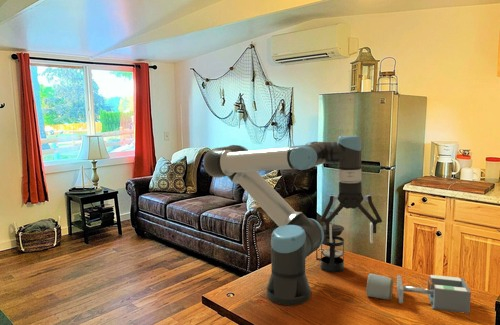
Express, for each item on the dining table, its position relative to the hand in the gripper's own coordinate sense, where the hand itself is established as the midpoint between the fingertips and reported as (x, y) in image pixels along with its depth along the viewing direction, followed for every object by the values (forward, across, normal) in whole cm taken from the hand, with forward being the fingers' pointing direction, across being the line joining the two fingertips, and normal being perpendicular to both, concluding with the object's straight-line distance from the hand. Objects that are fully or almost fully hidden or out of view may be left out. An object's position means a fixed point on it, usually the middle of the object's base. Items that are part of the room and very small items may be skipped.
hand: (350, 241), depth 130 cm
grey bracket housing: (+19, +30, -3) cm, 36 cm away
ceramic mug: (+19, +9, -1) cm, 21 cm away
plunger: (+18, +21, -2) cm, 28 cm away
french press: (+18, -7, +19) cm, 27 cm away
